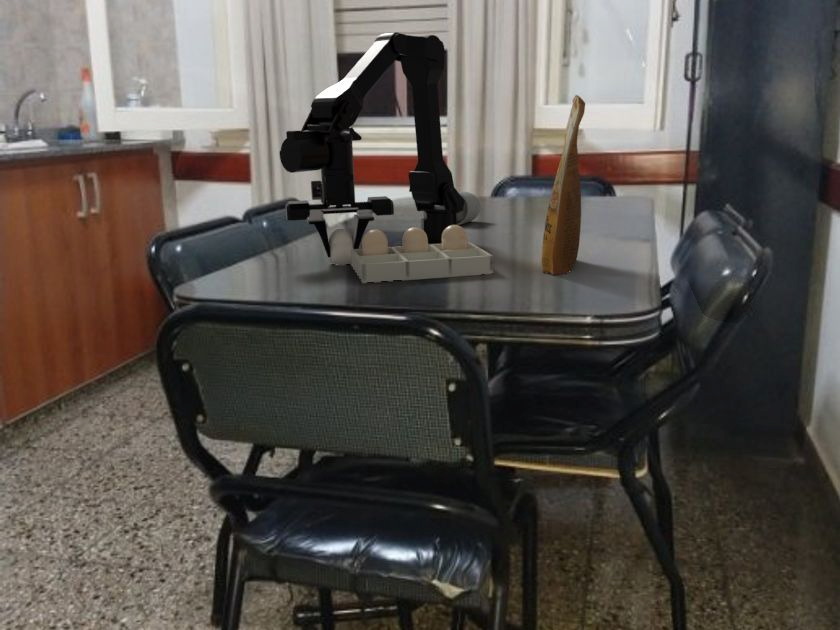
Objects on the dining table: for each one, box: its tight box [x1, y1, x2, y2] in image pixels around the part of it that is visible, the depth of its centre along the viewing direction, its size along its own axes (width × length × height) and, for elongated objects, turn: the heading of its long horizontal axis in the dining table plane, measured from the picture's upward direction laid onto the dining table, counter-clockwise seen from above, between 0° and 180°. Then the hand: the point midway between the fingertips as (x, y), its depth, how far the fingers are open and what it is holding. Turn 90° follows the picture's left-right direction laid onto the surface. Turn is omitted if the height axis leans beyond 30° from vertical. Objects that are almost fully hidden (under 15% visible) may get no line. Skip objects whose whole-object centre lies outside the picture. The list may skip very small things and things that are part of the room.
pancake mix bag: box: [541, 94, 586, 276], centre depth 129 cm, size 7×19×28 cm, turn 164°
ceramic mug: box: [457, 191, 481, 226], centre depth 185 cm, size 11×8×8 cm
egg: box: [328, 228, 354, 266], centre depth 140 cm, size 4×4×6 cm
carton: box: [350, 225, 494, 284], centre depth 132 cm, size 22×15×7 cm
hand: (342, 256), depth 141 cm, fingers closed on egg, 4 cm apart
